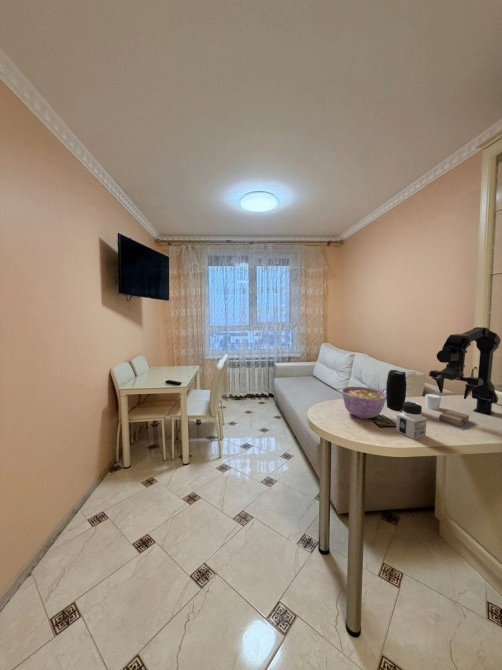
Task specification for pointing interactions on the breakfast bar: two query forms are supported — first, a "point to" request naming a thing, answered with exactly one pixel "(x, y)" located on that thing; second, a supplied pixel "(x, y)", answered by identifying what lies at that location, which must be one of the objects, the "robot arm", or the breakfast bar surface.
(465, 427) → the rubber mat
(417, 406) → the container
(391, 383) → the portable speaker
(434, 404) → the white cup
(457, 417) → the brown rectangular block
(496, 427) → the breakfast bar surface
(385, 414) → the breakfast bar surface
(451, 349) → the robot arm
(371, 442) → the breakfast bar surface
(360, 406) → the bowl of food
